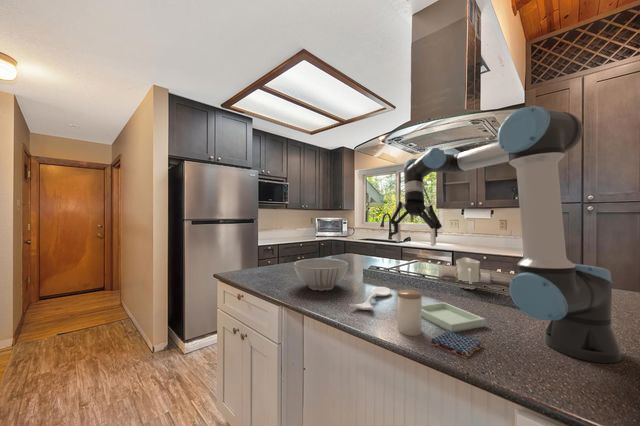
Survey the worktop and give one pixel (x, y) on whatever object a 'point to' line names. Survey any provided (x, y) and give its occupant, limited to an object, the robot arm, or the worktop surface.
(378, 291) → the spoon
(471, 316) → the tray
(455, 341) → the woven mat
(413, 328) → the canister
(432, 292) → the worktop surface
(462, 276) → the pitcher
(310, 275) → the decorative bowl
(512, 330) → the worktop surface
